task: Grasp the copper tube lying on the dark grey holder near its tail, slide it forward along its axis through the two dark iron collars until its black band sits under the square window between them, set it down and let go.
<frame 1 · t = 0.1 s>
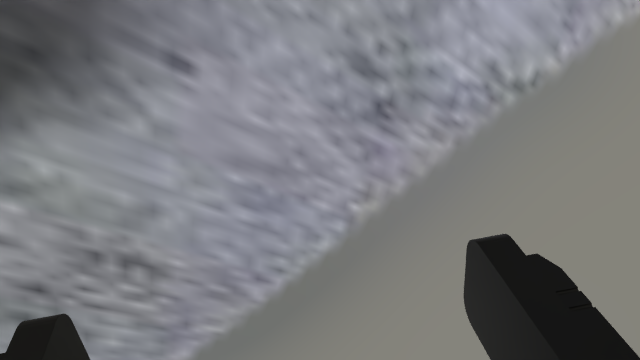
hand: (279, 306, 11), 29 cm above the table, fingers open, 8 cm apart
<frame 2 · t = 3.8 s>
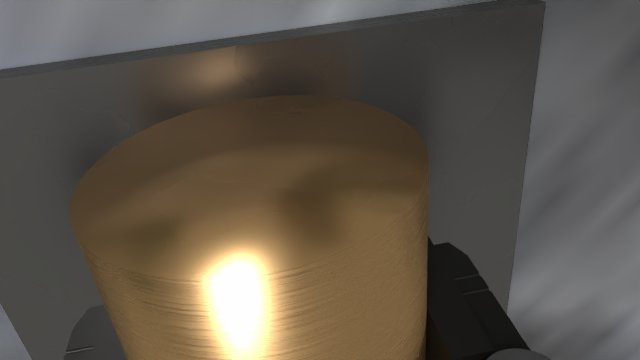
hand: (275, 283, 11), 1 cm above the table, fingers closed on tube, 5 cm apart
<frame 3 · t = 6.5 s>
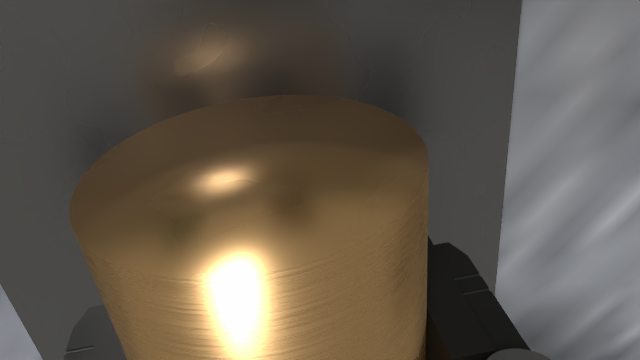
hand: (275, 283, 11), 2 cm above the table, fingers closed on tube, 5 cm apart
when the fingers open (1 cm above the table, at t = 9.5 s): tube stays where it is, resting on dark grey holder.
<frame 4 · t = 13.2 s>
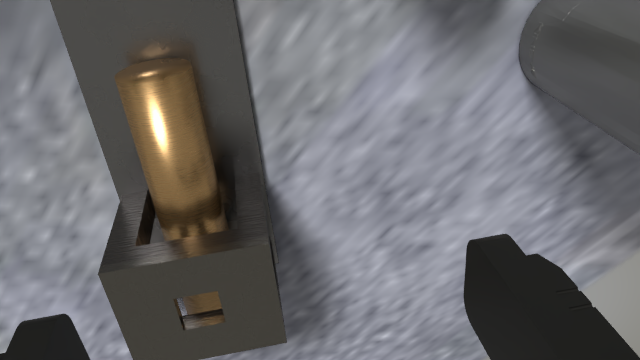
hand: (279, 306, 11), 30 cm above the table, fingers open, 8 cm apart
tube: (193, 190, 42), point 1 cm above the table, touching dark grey holder
dark grey holder: (203, 226, 45), on the table
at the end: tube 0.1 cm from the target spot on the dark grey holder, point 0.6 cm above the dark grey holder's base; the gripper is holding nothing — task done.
